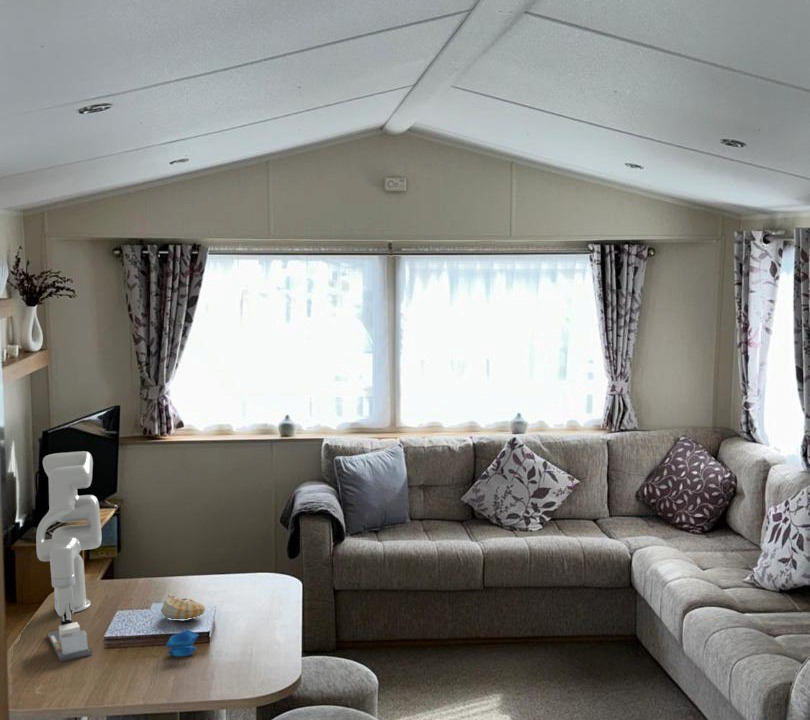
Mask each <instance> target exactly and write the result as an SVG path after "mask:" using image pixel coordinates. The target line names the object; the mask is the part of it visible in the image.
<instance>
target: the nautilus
mask: <svg viewBox="0 0 810 720" xmlns="http://www.w3.org/2000/svg"><path fill="white" fill-rule="evenodd" d="M160 612H161V614H162V615H163V616H164V618H166V617H167V618H171V619H188V618H193V617H197V616H199V617H200V615H201V616H202V615H203V614H204V612H205V606H204V604H202V603H200V602H197V601H194V600H192V599H191V598H181V599H180V598H179V597H176V596H175V595H173V596H170V595H169V594H167V598H166V599H165V601H164V602H163V605H162V607H161V608H160ZM167 618H166V619H167ZM197 618H198V617H197Z"/></svg>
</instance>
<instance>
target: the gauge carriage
mask: <svg viewBox="0 0 810 720" xmlns="http://www.w3.org/2000/svg"><path fill="white" fill-rule="evenodd" d="M58 630H59V636H60V635H64V634H69V633H73V632H78V631H81V626H80V624H79V623H78V622H77V621H75V622H72V623H69V624H65V625H61V624H60V625H58ZM57 643H61V642H60V641H58V642H55V644H57Z"/></svg>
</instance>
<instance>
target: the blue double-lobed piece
mask: <svg viewBox="0 0 810 720" xmlns="http://www.w3.org/2000/svg"><path fill="white" fill-rule="evenodd" d="M199 635H200V634H199V633H197V632H195V631H193V630H191V629H185V630H183V631H181V632H178V633H175V634H173V635H171V636H170V637H169V639H168V640H167V642H166V645H165V647H167V648H171V649H170V650H168V651H167V654H168V655H171V656H172V657H175V658H176V657H187V656H188V657H189V656H191V655H192V654H193V653H194V652H195V651H196V650H197V647H195V646H193V645H194V643H195V641H196V640H197V638H198V637H199Z"/></svg>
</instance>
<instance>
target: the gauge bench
mask: <svg viewBox="0 0 810 720" xmlns="http://www.w3.org/2000/svg"><path fill="white" fill-rule="evenodd" d="M47 638H48V639H49V641H50V643H51V645H52V647H53V650H54V652H55V654H56V655H57V657H58V659H59V661H60V662H61V663H63V662H67V661H72V660H74V659H79V658H80V659H81V658H84V657H87V656H88V657H89V656H92V655H93V654H92V653H93V652H92V649H91V647H90V645H89V643H88V633H87V632H86V629H84V630H80V631H78V632H73V633H69V634H64V635H60V636H59V629H58V630H54V631H49V632H47ZM58 641H60V642H61V643H57V644H55V642H58Z"/></svg>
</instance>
